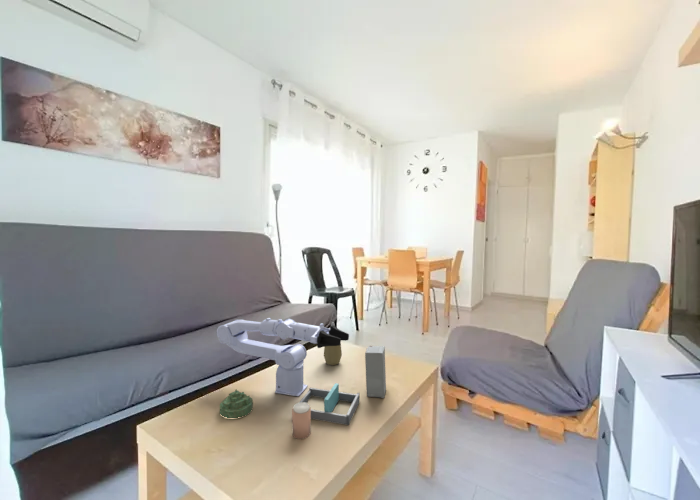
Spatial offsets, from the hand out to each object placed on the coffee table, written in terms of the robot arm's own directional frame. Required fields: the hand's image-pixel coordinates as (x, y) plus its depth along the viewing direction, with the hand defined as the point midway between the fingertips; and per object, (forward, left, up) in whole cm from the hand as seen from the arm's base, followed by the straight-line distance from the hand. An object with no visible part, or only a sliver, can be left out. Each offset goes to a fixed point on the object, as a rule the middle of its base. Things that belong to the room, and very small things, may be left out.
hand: (344, 339), depth 108 cm
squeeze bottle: (-14, +29, -21) cm, 38 cm away
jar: (-7, -20, -21) cm, 30 cm away
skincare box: (+9, +9, -21) cm, 25 cm away
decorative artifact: (-32, -15, -22) cm, 41 cm away
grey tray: (-4, -6, -21) cm, 22 cm away
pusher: (-2, -6, -21) cm, 22 cm away
